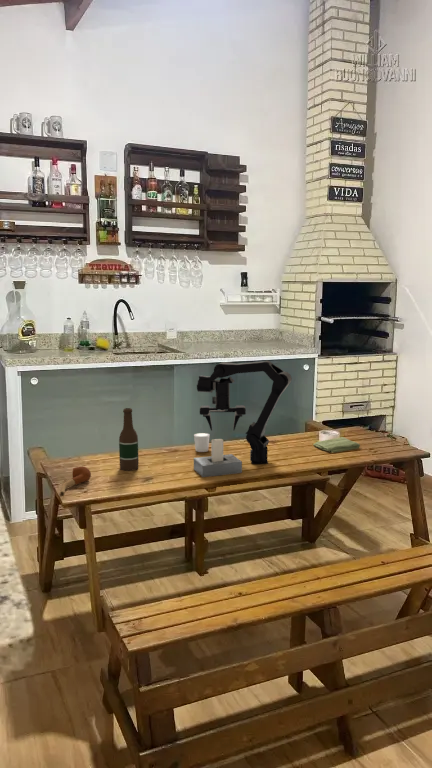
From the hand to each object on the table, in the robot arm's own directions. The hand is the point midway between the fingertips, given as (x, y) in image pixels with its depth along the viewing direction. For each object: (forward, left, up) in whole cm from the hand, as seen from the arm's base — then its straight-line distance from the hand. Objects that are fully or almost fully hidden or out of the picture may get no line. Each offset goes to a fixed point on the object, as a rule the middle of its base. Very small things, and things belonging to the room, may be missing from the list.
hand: (222, 430), depth 267 cm
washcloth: (-50, -17, -13) cm, 55 cm away
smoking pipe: (+53, +35, -12) cm, 65 cm away
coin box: (+2, +17, -12) cm, 21 cm away
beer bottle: (+37, +13, -12) cm, 41 cm away
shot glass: (+9, -13, -12) cm, 20 cm away
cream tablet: (+2, +17, -12) cm, 21 cm away
